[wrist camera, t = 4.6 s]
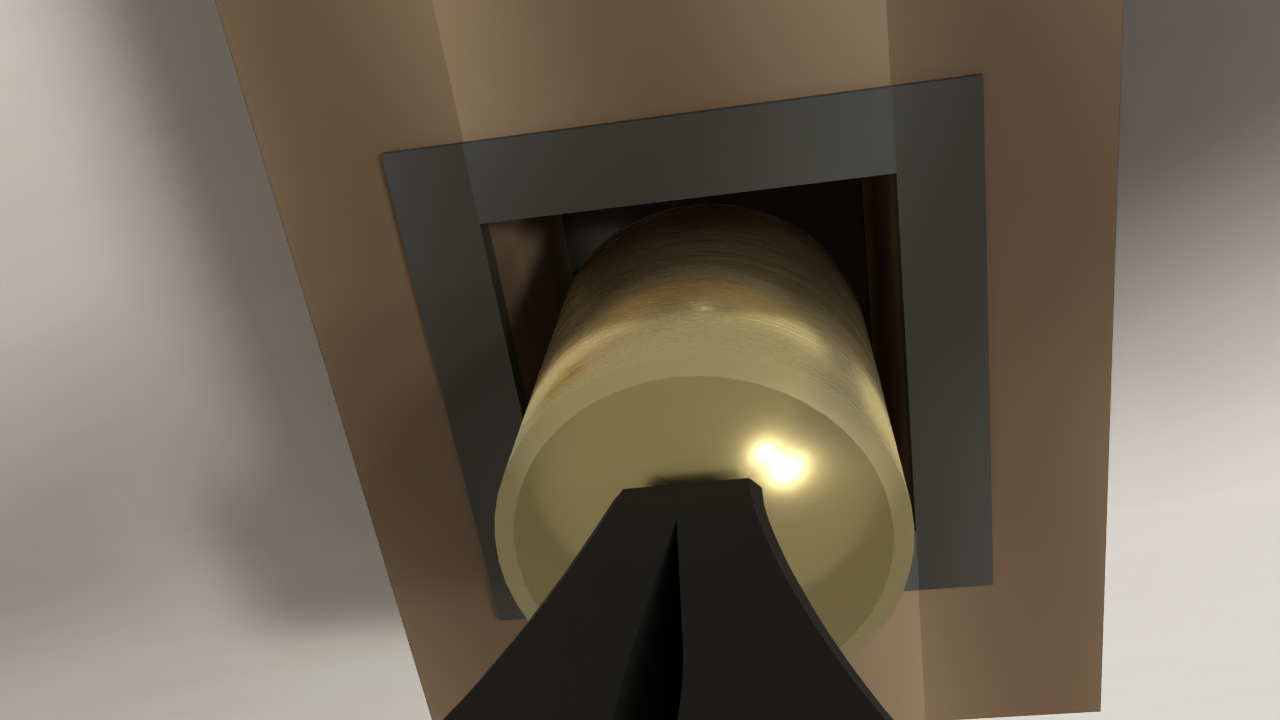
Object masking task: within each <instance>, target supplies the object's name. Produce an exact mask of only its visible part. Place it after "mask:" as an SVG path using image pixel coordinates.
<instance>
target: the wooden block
mask: <svg viewBox="0 0 1280 720" xmlns="http://www.w3.org/2000/svg"><path fill="white" fill-rule="evenodd" d="M215 2H216V5H217V8H218V11H219V15H220V18H221V21H222V25H223V28H224V31H225V35H226V38H227V41H228V45H229V48H230V51H231V55H232V58H233V61H234V65H235V68H236V71H237V74H238V78H239V81H240V84H241V88H242V91H243V94H244V98H245V101H246V104H247V108H248V111H249V114H250V118H251V121H252V124H253V128H254V131H255V134H256V137H257V141H258V144H259V147H260V151H261V154H262V157H263V161H264V164H265V167H266V171H267V174H268V177H269V181H270V184H271V187H272V191H273V194H274V197H275V200H276V204H277V207H278V210H279V214H280V217H281V220H282V224H283V227H284V230H285V234H286V237H287V240H288V244H289V247H290V250H291V253H292V257H293V260H294V263H295V267H296V270H297V273H298V277H299V280H300V283H301V287H302V290H303V293H304V297H305V300H306V303H307V307H308V310H309V313H310V316H311V320H312V323H313V326H314V330H315V333H316V336H317V340H318V343H319V346H320V350H321V353H322V356H323V360H324V363H325V366H326V370H327V373H328V376H329V379H330V383H331V386H332V389H333V393H334V396H335V399H336V403H337V406H338V409H339V413H340V416H341V419H342V423H343V426H344V429H345V433H346V436H347V439H348V442H349V446H350V449H351V452H352V456H353V459H354V462H355V466H356V469H357V472H358V476H359V479H360V482H361V486H362V489H363V492H364V496H365V499H366V502H367V505H368V509H369V512H370V515H371V519H372V522H373V525H374V529H375V532H376V535H377V539H378V542H379V545H380V549H381V552H382V555H383V559H384V562H385V565H386V568H387V572H388V575H389V578H390V582H391V585H392V588H393V592H394V595H395V598H396V602H397V605H398V608H399V612H400V615H401V618H402V622H403V625H404V628H405V631H406V635H407V638H408V641H409V645H410V648H411V651H412V655H413V658H414V661H415V665H416V668H417V671H418V675H419V678H420V681H421V685H422V688H423V691H424V694H425V698H426V701H427V704H428V708H429V711H430V714H431V718H432V720H443V719H444V718H445V717H446V716H447V715H448V714H449V713H450V712H451V711H452V709H453V708H454V707H455V706H456V705H457V704H458V703H459V702H460V701H461V700H462V699H463V698H464V697H465V695H466V694H467V693H468V692H469V691H470V690H471V689H472V688H473V687H474V686H475V684H476V683H477V682H478V681H479V680H480V679H481V677H482V676H483V675H484V674H485V673H486V671H487V670H488V669H489V668H490V667H491V666H492V664H493V663H494V662H495V661H496V660H497V658H498V657H499V656H500V655H501V654H502V653H503V651H504V650H505V649H506V648H507V647H508V645H509V644H510V643H511V642H512V641H513V640H514V638H515V637H516V636H517V635H518V634H519V632H520V631H521V630H522V629H523V627H524V626H525V625H526V624H527V622H528V620H527V618H526V617H525V616H524V614H523V613H522V611H521V610H520V608H519V607H518V605H517V604H516V602H515V600H514V598H513V596H512V594H511V592H510V590H509V588H508V586H507V584H506V582H505V579H504V575H503V572H502V569H501V566H500V563H499V560H498V554H497V548H496V542H495V511H496V504H497V497H498V492H499V489H500V486H501V482H502V479H503V476H504V473H505V470H506V467H507V464H508V461H509V458H510V455H511V453H512V450H513V447H514V444H515V441H516V438H517V435H518V432H519V430H520V427H521V424H522V421H523V418H524V415H525V412H526V410H527V407H528V404H529V401H530V398H531V395H532V392H533V390H534V387H535V384H536V381H537V378H538V375H539V372H540V369H541V367H542V364H543V361H544V358H545V355H546V352H547V349H548V347H549V344H550V341H551V338H552V335H553V332H554V329H555V327H556V324H557V321H558V318H559V315H560V312H561V309H562V306H563V304H564V301H565V298H566V295H567V293H568V291H569V289H570V287H571V285H572V283H573V281H574V278H573V273H572V268H571V262H570V257H569V252H568V247H567V241H566V236H565V231H564V225H563V220H562V215H561V214H566V213H574V212H582V211H591V210H599V209H607V208H615V207H623V206H632V205H640V204H648V203H656V202H664V201H673V200H681V199H689V198H697V197H705V196H714V195H722V194H730V193H738V192H746V191H755V190H763V189H771V188H779V187H787V186H796V185H804V184H812V183H820V182H828V181H837V180H845V179H853V178H861V179H862V194H863V208H864V223H865V238H866V252H867V267H868V281H869V296H870V311H871V325H872V340H873V354H874V360H875V364H876V367H877V371H878V375H879V379H880V383H881V387H882V391H883V395H884V399H885V403H886V407H887V411H888V415H889V419H890V423H891V427H892V431H893V435H894V439H895V442H896V446H897V450H898V454H899V458H900V462H901V466H902V470H903V474H904V478H905V482H906V486H907V490H908V494H909V498H910V502H911V507H912V514H913V521H914V552H913V558H912V563H911V568H910V574H909V576H908V579H907V582H906V585H905V588H904V590H903V593H902V596H901V598H900V599H899V601H898V603H897V605H896V607H895V609H894V611H893V612H892V614H891V616H890V617H889V619H888V620H887V621H886V623H885V624H884V625H883V627H882V628H881V629H880V631H879V632H878V633H877V635H876V636H875V637H874V638H873V639H872V640H871V641H870V642H869V643H868V644H867V645H866V646H865V647H864V648H863V649H862V650H861V651H860V652H858V653H857V654H856V655H855V656H853V657H852V658H851V659H850V660H848V661H849V663H850V664H851V666H852V667H853V669H854V670H855V671H856V673H857V674H858V675H859V677H860V678H861V679H862V681H863V682H864V683H865V685H866V686H867V687H868V689H869V690H870V691H871V692H872V694H873V695H874V696H875V698H876V699H877V700H878V701H879V703H880V704H881V705H882V706H883V708H884V709H885V710H886V711H887V712H888V714H889V715H890V716H891V717H892V718H893V720H959V719H977V718H994V717H1012V716H1029V715H1046V714H1064V713H1081V712H1099V711H1100V708H1101V678H1102V647H1103V616H1104V585H1105V554H1106V523H1107V492H1108V461H1109V430H1110V399H1111V368H1112V337H1113V306H1114V275H1115V244H1116V213H1117V182H1118V152H1119V121H1120V90H1121V59H1122V28H1123V0H215Z"/></svg>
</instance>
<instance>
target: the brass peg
mask: <svg viewBox="0 0 1280 720" xmlns="http://www.w3.org/2000/svg"><path fill="white" fill-rule="evenodd" d="M742 478H750V479H752V480H753V481H754V482H755V483H757V484H758V485H759V486H761V487H762V491H763V499H764V505H765V509H766V513H767V516H768V519H769V522H770V524H771V527H772V529H773V532H774V534H775V537H776V539H777V541H778V543H779V545H780V548H781V550H782V552H783V554H784V556H785V558H786V560H787V562H788V564H789V566H790V568H791V570H792V572H793V574H794V576H795V577H796V579H797V581H798V583H799V584H800V586H801V588H802V590H803V591H804V593H805V595H806V596H807V598H808V600H809V602H810V603H811V605H812V607H813V609H814V610H815V612H816V614H817V615H818V617H819V618H820V620H821V622H822V623H823V625H824V626H825V628H826V629H827V631H828V632H829V634H830V636H831V637H832V638H833V640H834V641H835V643H836V644H837V646H838V647H839V649H840V650H841V651H842V653H843V654H844V656H845V657H846V659H847V660H850V659H851V658H852V657H853V656H855V655H856V654H857V653H858V652H860V651H861V650H862V649H863V648H864V647H865V646H866V645H867V644H868V643H869V642H870V641H871V640H872V639H873V638H874V637H875V636H876V635H877V633H878V632H879V631H880V629H881V628H882V627H883V625H884V624H885V623H886V621H887V620H888V619H889V617H890V616H891V614H892V612H893V611H894V609H895V607H896V605H897V603H898V601H899V599H900V598H901V596H902V593H903V590H904V588H905V585H906V582H907V579H908V576H909V574H910V568H911V563H912V558H913V552H914V521H913V514H912V507H911V502H910V498H909V494H908V490H907V486H906V482H905V478H904V474H903V470H902V466H901V462H900V458H899V454H898V450H897V446H896V442H895V439H894V435H893V431H892V427H891V423H890V419H889V415H888V411H887V407H886V403H885V399H884V395H883V391H882V387H881V383H880V379H879V375H878V371H877V367H876V364H875V360H874V356H873V352H872V348H871V344H870V340H869V336H868V332H867V328H866V324H865V320H864V316H863V313H862V310H861V306H860V303H859V300H858V297H857V295H856V293H855V291H854V289H853V286H852V284H851V282H850V280H849V279H848V277H847V276H846V274H845V273H844V271H843V270H842V268H841V267H840V265H839V264H838V263H837V262H836V260H835V259H834V258H833V257H832V256H831V255H830V254H829V252H828V251H827V250H826V249H825V248H824V247H822V246H821V245H820V244H819V243H818V242H817V241H815V240H814V239H813V238H812V237H811V236H809V235H808V234H806V233H805V232H803V231H802V230H800V229H799V228H797V227H796V226H794V225H792V224H790V223H788V222H786V221H784V220H782V219H780V218H778V217H776V216H773V215H770V214H767V213H764V212H761V211H758V210H755V209H751V208H746V207H741V206H735V205H725V204H696V205H687V206H681V207H676V208H670V209H667V210H664V211H661V212H657V213H654V214H651V215H649V216H646V217H644V218H642V219H640V220H638V221H636V222H634V223H631V224H630V225H628V226H627V227H625V228H623V229H622V230H620V231H619V232H617V233H616V234H614V235H613V236H612V237H610V238H609V239H608V240H607V241H606V242H605V243H603V244H602V245H601V246H600V247H599V248H598V249H597V250H596V251H595V252H594V253H593V254H592V255H591V256H590V258H589V259H588V260H587V261H586V262H585V263H584V265H583V266H582V268H581V269H580V271H579V272H578V274H577V275H576V277H575V278H574V281H573V283H572V285H571V287H570V289H569V291H568V293H567V295H566V298H565V301H564V304H563V306H562V309H561V312H560V315H559V318H558V321H557V324H556V327H555V329H554V332H553V335H552V338H551V341H550V344H549V347H548V349H547V352H546V355H545V358H544V361H543V364H542V367H541V369H540V372H539V375H538V378H537V381H536V384H535V387H534V390H533V392H532V395H531V398H530V401H529V404H528V407H527V410H526V412H525V415H524V418H523V421H522V424H521V427H520V430H519V432H518V435H517V438H516V441H515V444H514V447H513V450H512V453H511V455H510V458H509V461H508V464H507V467H506V470H505V473H504V476H503V479H502V482H501V486H500V489H499V492H498V497H497V504H496V511H495V542H496V548H497V554H498V560H499V563H500V566H501V569H502V572H503V575H504V579H505V582H506V584H507V586H508V588H509V590H510V592H511V594H512V596H513V598H514V600H515V602H516V604H517V605H518V607H519V608H520V610H521V611H522V613H523V614H524V616H525V617H526V618H527V620H528V621H529V620H530V619H531V617H532V616H533V615H534V613H535V612H536V611H537V609H538V608H539V606H540V605H541V604H542V602H543V601H544V600H545V598H546V597H547V596H548V594H549V593H550V592H551V590H552V589H553V588H554V586H555V585H556V584H557V582H558V581H559V580H560V578H561V577H562V576H563V574H564V573H565V572H566V570H567V569H568V567H569V566H570V564H571V563H572V562H573V560H574V559H575V557H576V556H577V554H578V553H579V551H580V550H581V549H582V547H583V546H584V544H585V543H586V541H587V540H588V538H589V537H590V535H591V534H592V532H593V531H594V529H595V528H596V526H597V525H598V523H599V522H600V520H601V519H602V517H603V516H604V514H605V513H606V511H607V510H608V508H609V507H610V505H611V504H612V502H613V501H614V499H615V498H616V497H617V496H618V495H619V494H620V492H621V491H622V490H623V489H628V488H639V487H651V486H662V485H673V484H685V483H696V482H707V481H719V480H730V479H742Z"/></svg>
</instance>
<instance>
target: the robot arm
mask: <svg viewBox="0 0 1280 720" xmlns="http://www.w3.org/2000/svg"><path fill="white" fill-rule="evenodd" d="M443 720H893V718H892V717H891V716H890V715H889V714H888V712H887V711H886V710H885V709H884V708H883V706H882V705H881V704H880V703H879V701H878V700H877V699H876V698H875V696H874V695H873V694H872V692H871V691H870V690H869V689H868V687H867V686H866V685H865V683H864V682H863V681H862V679H861V678H860V677H859V675H858V674H857V673H856V671H855V670H854V669H853V667H852V666H851V664H850V663H849V661H848V660H847V659H846V657H845V656H844V654H843V653H842V651H841V650H840V649H839V647H838V646H837V644H836V643H835V641H834V640H833V638H832V637H831V636H830V634H829V632H828V631H827V629H826V628H825V626H824V625H823V623H822V622H821V620H820V618H819V617H818V615H817V614H816V612H815V610H814V609H813V607H812V605H811V603H810V602H809V600H808V598H807V596H806V595H805V593H804V591H803V590H802V588H801V586H800V584H799V583H798V581H797V579H796V577H795V576H794V574H793V572H792V570H791V568H790V566H789V564H788V562H787V560H786V558H785V556H784V554H783V552H782V550H781V548H780V545H779V543H778V541H777V539H776V537H775V534H774V532H773V529H772V527H771V524H770V522H769V519H768V516H767V513H766V509H765V505H764V499H763V491H762V487H761V486H759V485H758V484H757V483H755V482H754V481H753V480H752V479H750V478H742V479H730V480H719V481H707V482H696V483H685V484H673V485H662V486H651V487H639V488H628V489H623V490H622V491H621V492H620V494H619V495H618V496H617V497H616V498H615V499H614V501H613V502H612V504H611V505H610V507H609V508H608V510H607V511H606V513H605V514H604V516H603V517H602V519H601V520H600V522H599V523H598V525H597V526H596V528H595V529H594V531H593V532H592V534H591V535H590V537H589V538H588V540H587V541H586V543H585V544H584V546H583V547H582V549H581V550H580V551H579V553H578V554H577V556H576V557H575V559H574V560H573V562H572V563H571V564H570V566H569V567H568V569H567V570H566V572H565V573H564V574H563V576H562V577H561V578H560V580H559V581H558V582H557V584H556V585H555V586H554V588H553V589H552V590H551V592H550V593H549V594H548V596H547V597H546V598H545V600H544V601H543V602H542V604H541V605H540V606H539V608H538V609H537V611H536V612H535V613H534V615H533V616H532V617H531V619H530V620H529V621H528V622H527V624H526V625H525V626H524V627H523V629H522V630H521V631H520V632H519V634H518V635H517V636H516V637H515V638H514V640H513V641H512V642H511V643H510V644H509V645H508V647H507V648H506V649H505V650H504V651H503V653H502V654H501V655H500V656H499V657H498V658H497V660H496V661H495V662H494V663H493V664H492V666H491V667H490V668H489V669H488V670H487V671H486V673H485V674H484V675H483V676H482V677H481V679H480V680H479V681H478V682H477V683H476V684H475V686H474V687H473V688H472V689H471V690H470V691H469V692H468V693H467V694H466V695H465V697H464V698H463V699H462V700H461V701H460V702H459V703H458V704H457V705H456V706H455V707H454V708H453V709H452V711H451V712H450V713H449V714H448V715H447V716H446V717H445V718H444V719H443Z"/></svg>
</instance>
